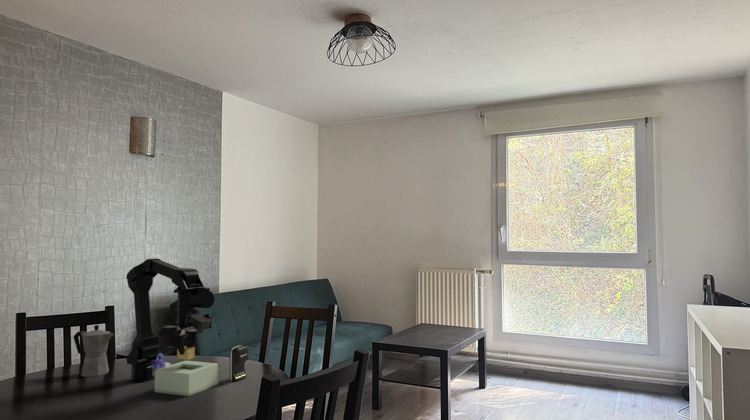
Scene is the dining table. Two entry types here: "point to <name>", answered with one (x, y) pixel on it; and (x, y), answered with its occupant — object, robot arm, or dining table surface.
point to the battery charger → (238, 362)
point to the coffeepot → (94, 351)
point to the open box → (186, 378)
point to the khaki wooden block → (187, 353)
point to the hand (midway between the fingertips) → (185, 353)
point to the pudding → (159, 362)
